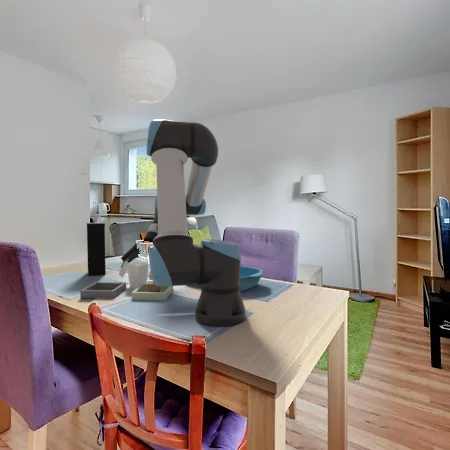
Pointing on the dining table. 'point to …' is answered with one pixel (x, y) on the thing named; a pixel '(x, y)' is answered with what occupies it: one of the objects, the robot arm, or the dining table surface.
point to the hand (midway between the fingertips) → (135, 277)
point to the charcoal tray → (102, 290)
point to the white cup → (137, 274)
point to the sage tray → (151, 293)
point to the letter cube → (152, 287)
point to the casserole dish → (249, 277)
